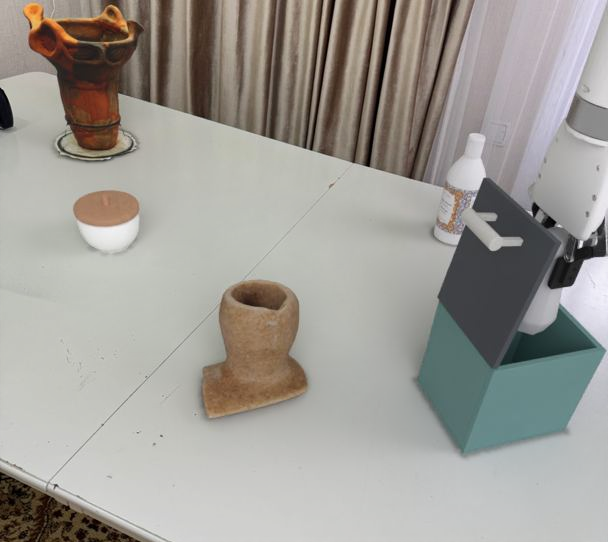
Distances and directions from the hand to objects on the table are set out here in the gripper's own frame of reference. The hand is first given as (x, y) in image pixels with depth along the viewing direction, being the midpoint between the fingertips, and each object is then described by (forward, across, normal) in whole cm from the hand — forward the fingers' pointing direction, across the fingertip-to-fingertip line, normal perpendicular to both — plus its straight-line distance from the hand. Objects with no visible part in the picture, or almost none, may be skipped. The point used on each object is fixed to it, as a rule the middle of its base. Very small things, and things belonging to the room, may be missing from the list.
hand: (547, 272), depth 72 cm
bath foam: (+23, +42, -15) cm, 50 cm away
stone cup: (+23, +12, +32) cm, 41 cm away
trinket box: (+22, +52, +47) cm, 74 cm away
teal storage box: (+22, 0, +1) cm, 22 cm away
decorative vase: (+22, +94, +46) cm, 107 cm away
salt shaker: (+8, 0, 0) cm, 8 cm away
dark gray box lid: (-1, 0, +7) cm, 8 cm away
